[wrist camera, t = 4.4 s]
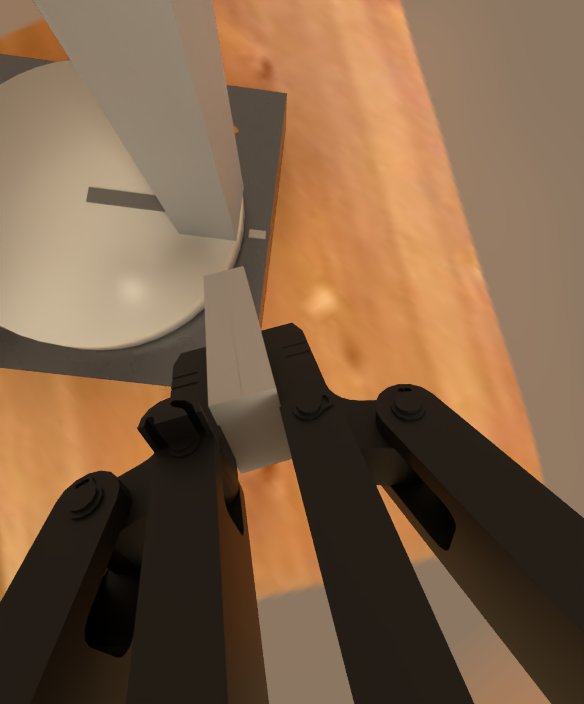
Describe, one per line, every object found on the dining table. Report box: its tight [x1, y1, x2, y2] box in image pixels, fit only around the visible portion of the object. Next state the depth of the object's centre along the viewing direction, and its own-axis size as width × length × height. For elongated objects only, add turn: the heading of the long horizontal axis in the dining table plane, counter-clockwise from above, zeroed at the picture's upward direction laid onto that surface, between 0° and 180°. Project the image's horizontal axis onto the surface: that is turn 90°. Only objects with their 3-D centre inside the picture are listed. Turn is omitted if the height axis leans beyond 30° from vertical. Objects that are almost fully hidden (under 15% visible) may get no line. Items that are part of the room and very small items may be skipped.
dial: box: [0, 0, 245, 350], centre depth 13 cm, size 16×16×14 cm
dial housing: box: [0, 54, 287, 386], centre depth 21 cm, size 19×19×3 cm
